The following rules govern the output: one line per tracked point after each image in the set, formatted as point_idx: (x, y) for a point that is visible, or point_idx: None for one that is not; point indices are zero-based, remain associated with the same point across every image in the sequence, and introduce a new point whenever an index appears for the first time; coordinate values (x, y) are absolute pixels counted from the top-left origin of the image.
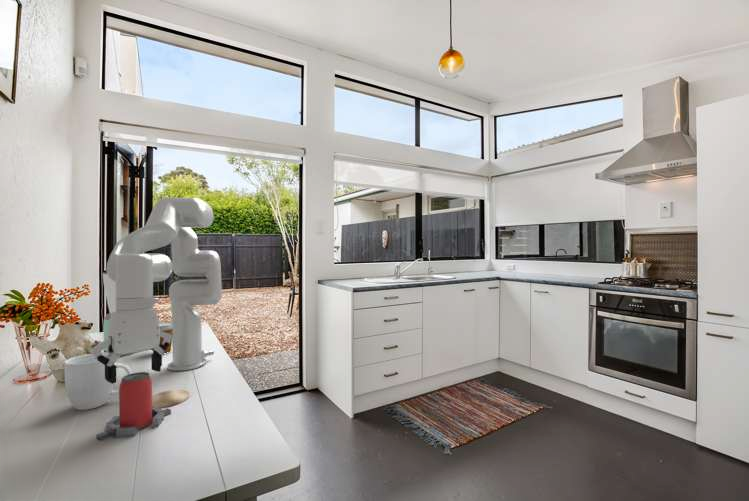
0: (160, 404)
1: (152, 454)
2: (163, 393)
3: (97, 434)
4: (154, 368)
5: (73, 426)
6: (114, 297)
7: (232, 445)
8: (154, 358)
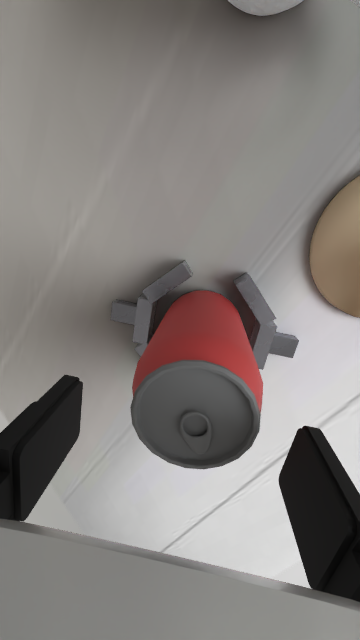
0: (329, 278)
1: (134, 456)
2: None
3: (114, 304)
4: (291, 465)
5: (126, 139)
6: None
7: (209, 545)
8: (319, 533)
